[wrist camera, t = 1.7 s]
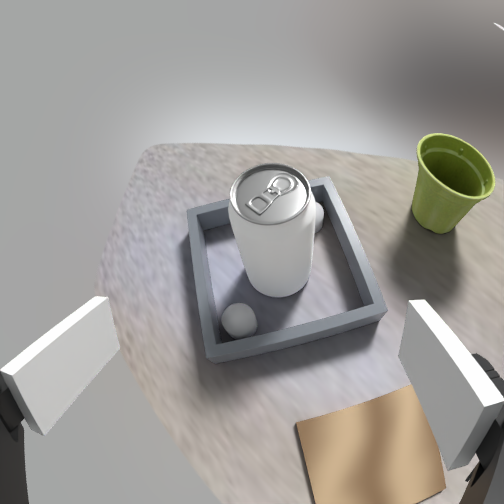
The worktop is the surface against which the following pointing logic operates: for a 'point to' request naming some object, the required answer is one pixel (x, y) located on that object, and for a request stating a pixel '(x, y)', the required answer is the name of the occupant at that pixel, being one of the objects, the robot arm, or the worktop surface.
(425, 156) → the plant pot
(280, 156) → the worktop surface
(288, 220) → the can
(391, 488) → the pad
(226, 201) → the tray
